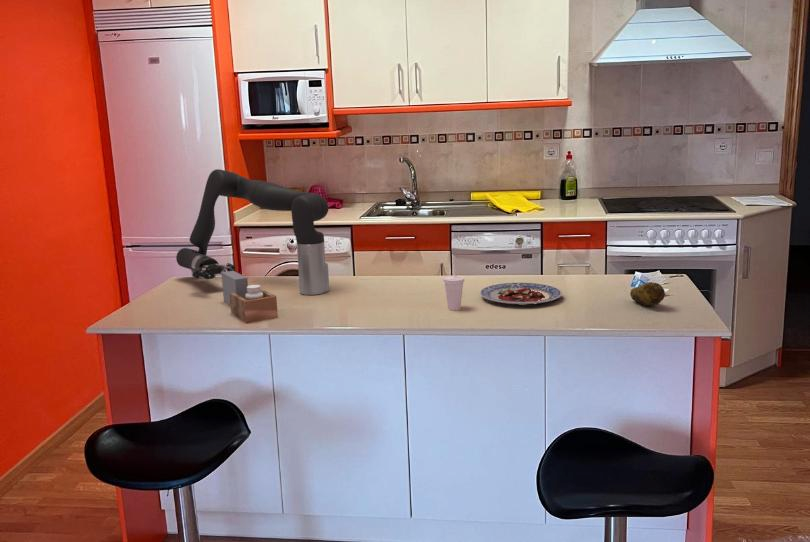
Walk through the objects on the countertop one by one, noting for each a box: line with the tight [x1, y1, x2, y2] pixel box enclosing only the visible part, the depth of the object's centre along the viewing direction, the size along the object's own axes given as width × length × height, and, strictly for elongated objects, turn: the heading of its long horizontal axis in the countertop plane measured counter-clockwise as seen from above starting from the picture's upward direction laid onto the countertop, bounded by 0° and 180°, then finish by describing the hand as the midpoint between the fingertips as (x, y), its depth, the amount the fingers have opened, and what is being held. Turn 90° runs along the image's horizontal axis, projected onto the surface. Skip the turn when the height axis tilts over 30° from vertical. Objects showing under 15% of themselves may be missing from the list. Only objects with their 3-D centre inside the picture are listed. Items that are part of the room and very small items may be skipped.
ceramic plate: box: [479, 282, 563, 305], centre depth 238 cm, size 26×26×3 cm
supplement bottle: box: [245, 284, 264, 300], centre depth 226 cm, size 5×5×10 cm
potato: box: [629, 282, 666, 306], centre depth 224 cm, size 8×13×8 cm, turn 176°
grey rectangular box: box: [221, 271, 249, 307], centre depth 240 cm, size 13×4×10 cm, turn 32°
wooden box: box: [229, 287, 279, 324], centre depth 228 cm, size 13×10×6 cm
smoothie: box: [443, 263, 465, 311], centre depth 227 cm, size 6×6×14 cm
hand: (220, 274), depth 251 cm, fingers open, 8 cm apart
